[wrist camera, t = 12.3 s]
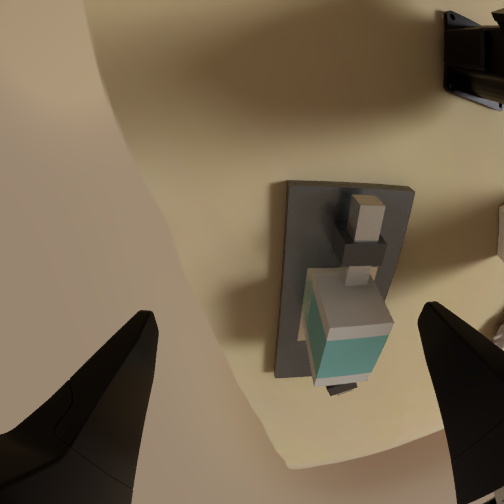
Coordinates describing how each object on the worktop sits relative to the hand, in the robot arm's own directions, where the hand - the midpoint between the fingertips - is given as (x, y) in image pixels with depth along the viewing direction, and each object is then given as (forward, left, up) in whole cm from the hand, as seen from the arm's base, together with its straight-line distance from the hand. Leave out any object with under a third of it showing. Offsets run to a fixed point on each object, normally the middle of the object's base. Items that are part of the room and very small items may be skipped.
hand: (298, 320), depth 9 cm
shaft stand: (-6, +10, -12) cm, 17 cm away
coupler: (-6, +10, -11) cm, 16 cm away
